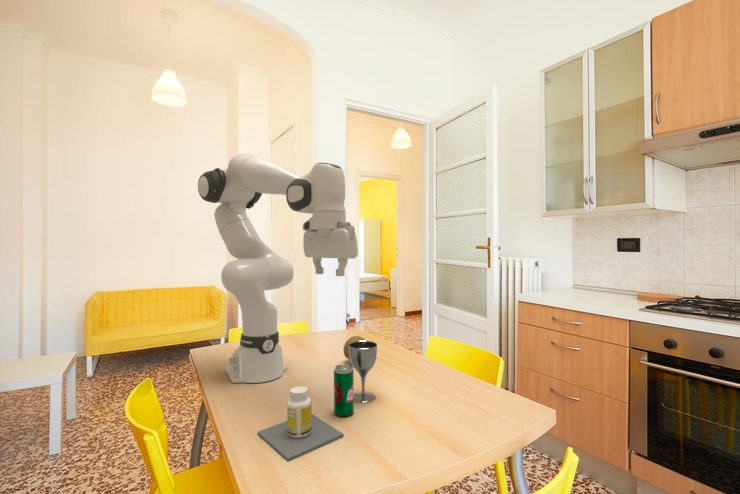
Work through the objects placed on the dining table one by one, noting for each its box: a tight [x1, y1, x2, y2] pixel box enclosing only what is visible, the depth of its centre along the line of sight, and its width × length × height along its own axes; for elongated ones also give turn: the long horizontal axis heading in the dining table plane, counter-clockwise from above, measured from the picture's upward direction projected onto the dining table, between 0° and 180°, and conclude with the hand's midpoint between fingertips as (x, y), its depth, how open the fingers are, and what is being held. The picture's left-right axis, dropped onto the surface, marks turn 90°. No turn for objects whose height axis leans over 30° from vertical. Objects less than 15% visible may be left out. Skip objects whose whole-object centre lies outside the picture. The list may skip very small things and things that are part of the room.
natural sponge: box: [343, 335, 367, 361], centre depth 132 cm, size 9×9×10 cm
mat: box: [257, 413, 345, 462], centre depth 83 cm, size 14×14×1 cm
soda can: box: [333, 363, 355, 418], centre depth 93 cm, size 5×5×12 cm
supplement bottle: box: [286, 385, 312, 438], centre depth 83 cm, size 5×5×10 cm
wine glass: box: [349, 340, 378, 404], centre depth 103 cm, size 8×8×15 cm
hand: (329, 275), depth 98 cm, fingers open, 8 cm apart
